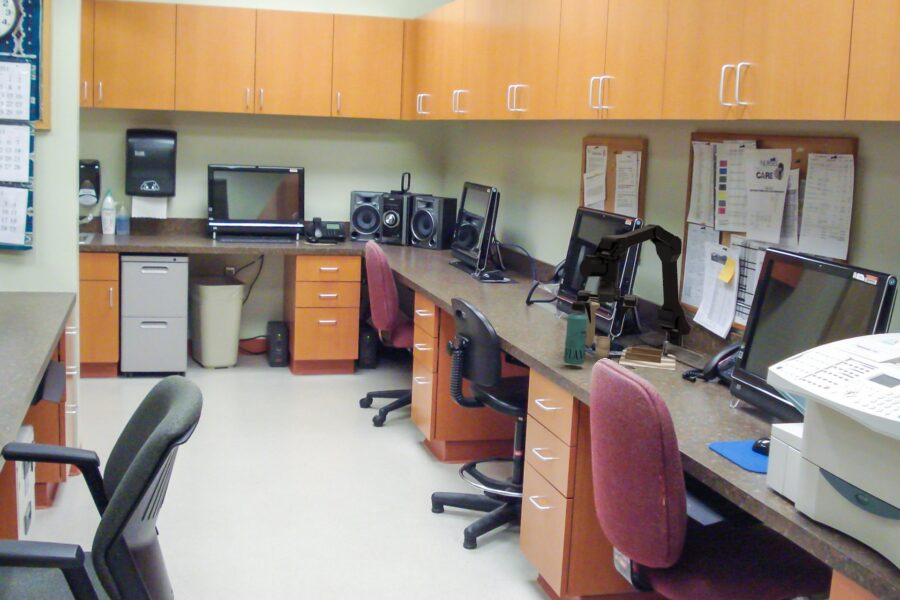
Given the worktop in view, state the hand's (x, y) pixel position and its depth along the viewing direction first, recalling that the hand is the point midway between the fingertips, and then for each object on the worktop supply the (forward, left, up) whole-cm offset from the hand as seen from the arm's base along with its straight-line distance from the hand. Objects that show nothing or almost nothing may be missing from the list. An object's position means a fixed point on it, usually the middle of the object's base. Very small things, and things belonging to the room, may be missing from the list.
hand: (605, 324), depth 311 cm
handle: (-14, -6, -11) cm, 19 cm away
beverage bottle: (+18, -7, -11) cm, 22 cm away
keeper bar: (-1, +25, -9) cm, 27 cm away
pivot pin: (0, 0, -11) cm, 11 cm away
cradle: (0, +14, -11) cm, 18 cm away
